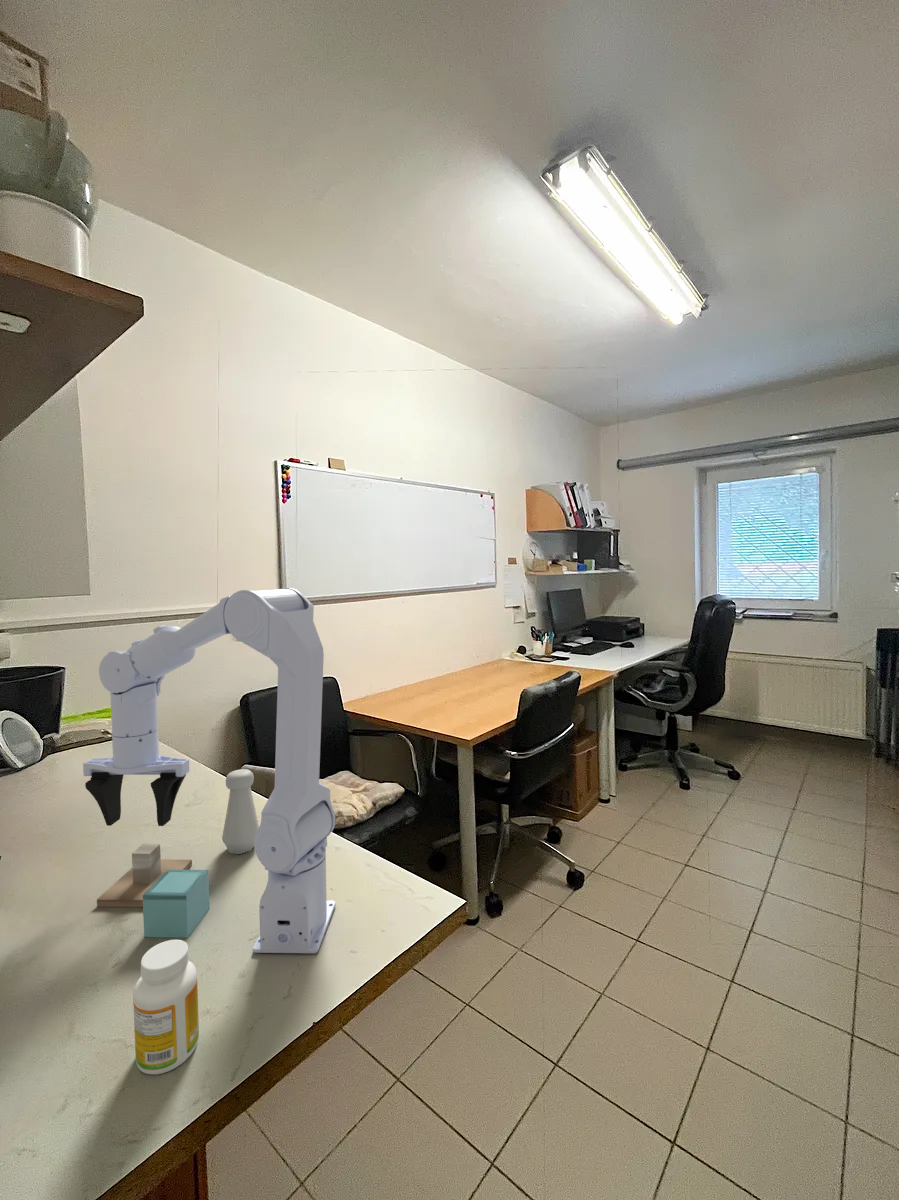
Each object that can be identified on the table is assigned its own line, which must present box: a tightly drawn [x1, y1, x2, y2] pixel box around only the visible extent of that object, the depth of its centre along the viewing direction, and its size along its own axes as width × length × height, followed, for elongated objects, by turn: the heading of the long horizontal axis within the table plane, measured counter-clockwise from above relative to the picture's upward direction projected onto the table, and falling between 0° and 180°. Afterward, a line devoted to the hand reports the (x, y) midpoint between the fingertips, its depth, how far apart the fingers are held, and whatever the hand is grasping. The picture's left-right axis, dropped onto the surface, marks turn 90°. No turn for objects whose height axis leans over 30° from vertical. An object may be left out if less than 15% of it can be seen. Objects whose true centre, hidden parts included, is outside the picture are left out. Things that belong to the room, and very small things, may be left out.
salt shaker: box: [221, 768, 260, 855], centre depth 86 cm, size 6×6×13 cm
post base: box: [96, 843, 193, 908], centre depth 76 cm, size 10×8×6 cm
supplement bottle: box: [132, 939, 200, 1075], centre depth 50 cm, size 5×5×10 cm
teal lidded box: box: [142, 869, 210, 939], centre depth 68 cm, size 6×6×6 cm
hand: (138, 822), depth 76 cm, fingers open, 7 cm apart
